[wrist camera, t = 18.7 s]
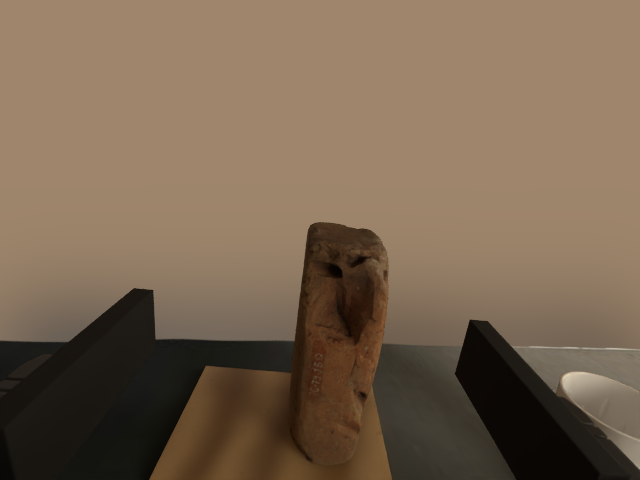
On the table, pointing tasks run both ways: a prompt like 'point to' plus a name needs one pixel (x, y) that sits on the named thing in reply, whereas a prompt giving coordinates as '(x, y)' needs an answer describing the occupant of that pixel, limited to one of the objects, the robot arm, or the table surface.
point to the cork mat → (256, 434)
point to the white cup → (606, 408)
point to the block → (336, 339)
